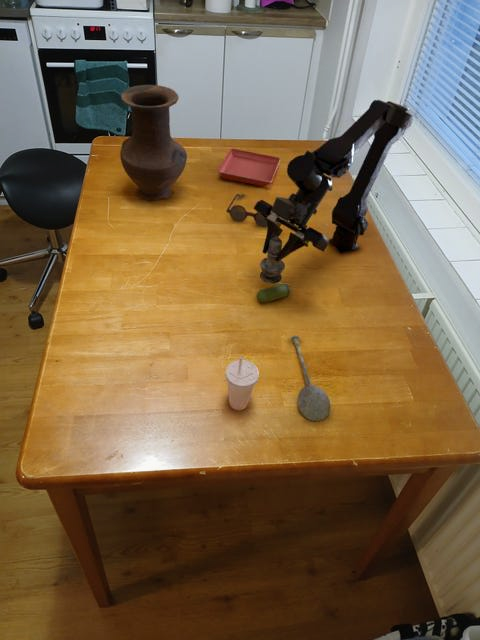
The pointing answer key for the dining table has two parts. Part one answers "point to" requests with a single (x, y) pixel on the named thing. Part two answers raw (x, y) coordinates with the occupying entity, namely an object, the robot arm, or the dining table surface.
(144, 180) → the vase
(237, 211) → the eyeglasses
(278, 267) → the chess piece
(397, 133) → the robot arm
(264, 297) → the pickle
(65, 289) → the dining table surface
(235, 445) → the dining table surface
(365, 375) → the dining table surface
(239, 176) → the plant saucer
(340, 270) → the dining table surface
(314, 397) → the soupspoon
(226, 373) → the smoothie
